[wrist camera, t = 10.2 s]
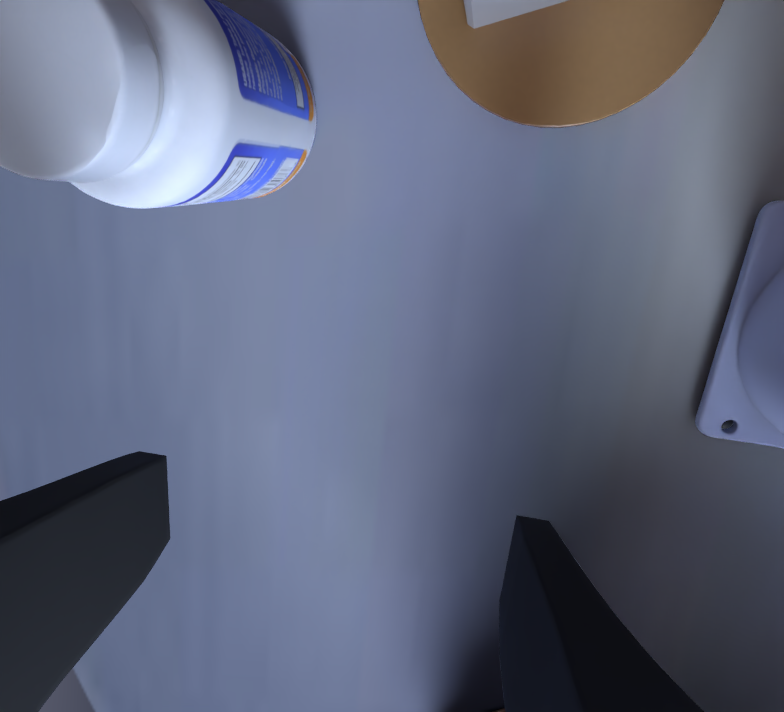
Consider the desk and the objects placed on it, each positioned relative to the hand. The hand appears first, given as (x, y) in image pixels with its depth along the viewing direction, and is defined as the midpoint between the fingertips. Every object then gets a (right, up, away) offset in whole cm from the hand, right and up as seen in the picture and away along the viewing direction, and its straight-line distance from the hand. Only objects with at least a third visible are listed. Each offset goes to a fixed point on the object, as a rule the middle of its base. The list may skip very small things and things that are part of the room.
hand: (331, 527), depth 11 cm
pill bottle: (-4, +12, +8) cm, 15 cm away
